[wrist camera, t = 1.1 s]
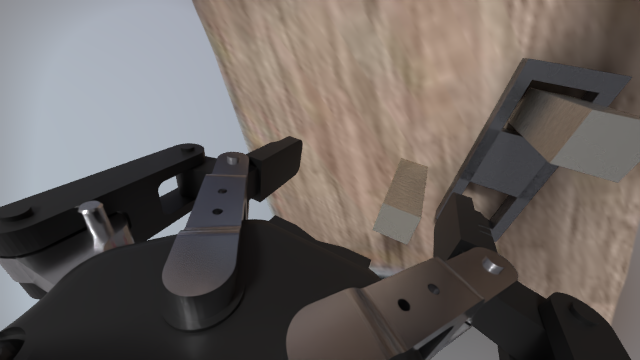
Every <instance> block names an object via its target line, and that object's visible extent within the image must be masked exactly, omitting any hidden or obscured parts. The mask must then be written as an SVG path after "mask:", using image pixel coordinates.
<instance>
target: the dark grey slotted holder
mask: <svg viewBox="0 0 640 360" xmlns="http://www.w3.org/2000/svg"><path fill="white" fill-rule="evenodd" d="M631 78H632V77H630V76H624V75H619V74H613V73H608V72H602V71H596V70H591V69H585V68H579V67H574V66H568V65H562V64H557V63H551V62H546V61H540V60H534V59H527V58H522V60H521V62H520V64H519V66H518V67H517V69H516V71H515V73H514V74H513V76H512V78H511V80H510V81H509V83H508V85H507V87H506V88H505V90H504V92H503V94H502V96H501V97H500V99H499V101H498V103H497V104H496V106H495V108H494V110H493V111H492V113H491V115H490V117H489V119H488V120H487V122H486V124H485V126H484V127H483V129H482V131H481V133H480V134H479V136H478V138H477V140H476V141H475V143H474V145H473V147H472V149H471V150H470V152H469V154H468V156H467V157H466V159H465V161H464V163H463V164H462V166H461V168H460V170H459V171H458V173H457V175H456V177H455V179H454V180H453V182H452V184H451V186H450V187H449V189H448V191H447V193H446V194H445V196H444V198H443V200H442V201H441V203H440V205H439V207H438V209H437V210H436V219H438V217H439V215H440V213H441V212H442V210H443V208H444V206H445V204H446V203H447V201H448V199H449V197H450V196H451V194H452V193H453V192H455V193H458V194H461V195H462V193H463V192H464V190H465V188H466V187H467V185H468V183H469V182H473V183H476V184H479V185H482V186H485V187H488V188H491V189H494V190H497V191H500V192H503V193H506V194H509V196H508V197H507V198H506V200H505V201H504V202H503V204H502V205H501V206H500V208H499V209H498V210H497V212H496V213H495V214H494V216H493V217H492V218H491V220H488V219H487V221H488V224H489V227H490V230H491V233H492V235H491V236H492V237H493V240H494V242H496V241H497V240H498V239H499V238H500V236H501V235H502V234H503V233H504V232H505V230H506V229H507V228H508V227H509V226H510V224H511V223H512V222H513V221H514V219H515V218H516V217H517V216H518V215H519V213H520V212H521V211H522V210H523V209H524V207H525V206H526V205H527V204H528V203H529V201H530V200H531V199H532V198H533V197H534V195H535V194H536V193H537V192H538V190H539V189H540V188H541V187H542V186H543V184H544V183H545V182H546V181H547V180H548V178H549V177H550V176H551V175H552V174H553V172H554V171H555V170H556V169H557V168H558V166H557V165H554V164H550V163H549V162H548V161H547V160H546V159H545V158H544V157H543V156H542V155H541V154H540V153H539V152H538V151H537V150H536V149H535V148H534V147H533V146H532V145H531V144H530V143H529V142H528V141H527V140H526V139H525V138H524V137H523V136H522V135H521V134H520V133H519V132H516V131H513V130H509V129H505V128H503V126H504V125H505V123H506V121H507V120H508V118H509V117H510V115H511V113H512V112H513V110H514V108H515V107H516V105H517V103H518V102H519V100H520V99H521V97H522V95H523V94H524V92H525V90H526V89H527V87H528V86H529V84H530V82H531V81H532V80H536V81H542V82H547V83H552V84H557V85H562V86H567V87H572V88H577V89H582V90H587V92H586V93H585V95H584V96H583V97H582V99H583V100H586V101H589V102H592V103H596V104H599V105H602V106H606V107H608V106H609V105H610V103H611V102H612V101H613V100H614V99H615V97H616V96H617V95H618V94H619V93H620V91H621V90H622V89H623V88H624V87H625V85H626V84H627V83H628V82H629V80H630V79H631Z"/></svg>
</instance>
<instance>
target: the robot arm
mask: <svg viewBox="0 0 640 360" xmlns="http://www.w3.org/2000/svg"><path fill="white" fill-rule="evenodd" d="M302 145H303V144H302V140H299V139H296V138H293V137H290V136H288V137H286V138H284V139H282V140H280V141H277V142H271V143H269V144H267V145H265V146H262V147H260V148H259V149H256V150H254V151H252V152H250V153H248V154H246V155H245V154H243V153H239V152H227V153H223V154H221V155H219V156H218V158H211V157H207V156H205V152H204V147H202V146H201V145H197V144H190V143H187V144H180V145H176V146H173V147H170V148H167V149H165V150H162V151H159V152H156V153H153V154H151V155H147V156H145V157H142V158H139V159H136V160H133V161H130V162H128V163H125V164H122V165H119V166H116V167H113V168H110V169H107V170H105V171H102V172H99V173H96V174H93V175H90V176H88V177H85V178H82V179H79V180H76V181H73V182H70V183H68V184H65V185H62V186H59V187H56V188H53V189H51V190H48V191H45V192H42V193H39V194H36V195H33V196H30V197H28V198H25V199H22V200H19V201H16V202H13V203H11V204H8V205H5V206H2V207H0V264H1V266H2V267H3V268H4V269H5V270H6V271H7V273H8V274H9V275H10V276H11V277H12V279H13V280H15V281H16V282H19V284H20V285H21V286H22V287H23V288H24V289H25V291H26V292H27V293H28V294H29V295H30V296H31V297H32V298H34V299H40V300H39V301H38V302H37V303H36V304H35V305H34V306H33V307H31V308H30V309H29V310H28V311H27V312H25V313H24V314H23V315H22V316H21V317H19V318H18V319H17V320H16V321H14V322H13V323H11V324H10V325H9V326H7V327H6V328H5V329H3V330H2V331H0V360H430V359H431V358H432V357H434V356H435V355H436V354H437V353H438V352H439V351H440V350H442V349H443V348H444V347H446V346H447V345H448V344H450V343H451V342H452V341H454V340H455V339H456V338H458V337H459V336H460V335H462V334H463V333H464V332H466V331H467V330H468V329H470V328H471V327H472V326H473V327H475V328H476V329H478V330H479V331H480V332H481V333H483V334H484V335H485V336H487V337H488V338H489V339H490V340H492V341H493V342H494V343H496V344H497V345H498V352H499V359H500V360H631V359H630V357H629V355H628V354H627V352H626V350H625V349H624V347H623V345H622V343H621V342H620V340H619V338H618V337H617V335H616V333H615V332H614V330H613V328H612V327H611V326H610V324H609V323H608V322H607V321H606V320H605V319H604V318H603V317H602V316H601V315H600V314H599V313H597V312H596V311H595V310H594V309H592V308H591V307H590V306H588V305H587V304H585V303H584V302H582V301H580V300H578V299H577V298H575V297H572V296H570V295H568V294H564V293H559V292H556V293H553V294H552V295H550V296H549V297H548V298H547V299H546V298H544V297H542V296H541V295H539V294H537V293H536V292H534V291H532V290H531V289H529V288H527V287H526V286H524V285H523V284H521V283H520V282H518V281H517V280H518V273H517V271H516V269H515V268H514V266H513V265H512V264H511V263H510V262H509V261H508V260H507V259H505V258H504V257H503V256H501V255H500V254H498V253H497V250H496V246H495V243H494V240H493V237H492V236H491V235H492V233H491V230H490V227H489V224H488V221H487V219H486V218H485V217H484V216H483V215H482V214H481V212H478V211H475V209H474V205H473V201H472V198H470V197H467V196H464V195H461V194H458V193H455V192H453V193H452V194H451V196H450V197H449V199H448V201H447V203H446V204H445V206H444V208H443V210H442V212H441V213H440V215H439V217H438V219H437V221H436V224H435V228H434V253H433V258H431V259H429V260H427V261H424V262H422V263H420V264H417V265H415V266H413V267H411V268H408V269H406V270H404V271H401V272H399V273H397V274H394V275H392V276H390V277H388V278H385V279H383V280H381V279H380V278H379V277H378V276H377V275H376V274H375V273H374V272H373V271H372V270H370V269H369V268H368V267H369V265H370V262H371V259H368V258H366V257H364V256H362V255H360V254H358V253H355V252H353V251H351V250H349V249H347V248H344V247H340V246H336V245H332V244H328V243H324V242H320V241H317V240H315V239H314V238H313V237H311V236H310V235H309V234H307V233H306V232H305V231H303V230H302V229H301V228H299V227H298V226H297V225H295V224H293V223H291V222H288V221H286V220H284V219H282V218H280V217H278V216H276V215H275V216H274V217H273V218H272V219H271V220H269V221H266V220H257V219H254V220H253V219H252V220H248V212H249V200H250V199H251V198H252V199H254V200H256V201H259V202H261V201H263V200H264V199H265V198H266V197H268V196H269V195H270V194H272V193H273V192H274V191H275V190H277V189H278V188H279V187H281V186H282V185H283V184H284V183H286V182H287V181H288V180H289V179H291V178H292V177H293V176H295V175H296V173H297V172H298V170H299V167H300V160H301V153H302ZM174 176H176V179H177V184H178V188H176V189H175V190H173V191H171V192H169V193H167V194H165V195H163V196H161V197H159V194H158V188H159V186H160V184H161V183H162V182H163V181H165V180H168V179H170V178H172V177H174ZM190 211H191V214H190V217H189V219H188V222H187V224H186V227H185V229H184V230H181V231H180V232H179V233H178V234H176V235H171V236H166V237H162V238H157V239H152V240H148V239H150V238H151V237H152V236H154V235H155V234H157V233H159V232H160V231H162V230H163V229H165V228H166V227H168V226H169V225H171V224H172V223H174V222H175V221H177V220H178V219H180V218H181V217H183V216H184V215H186V214H187V213H189V212H190ZM146 240H148V241H146Z"/></svg>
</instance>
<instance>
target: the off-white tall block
mask: <svg viewBox="0 0 640 360" xmlns="http://www.w3.org/2000/svg"><path fill="white" fill-rule="evenodd" d="M427 171H428V167H427V166H424V165H421V164H417V163H414V162H411V161H408V160H405V159H402V158H401V161H400V163H399V165H398V168H397V170H396V173H395V175H394V178H393V180H392V182H391V185H390V187H389V190H388V192H387V195H386V197H385V200H384V202H383V204H382V207H381V210H380V212H379V215H378V217H377V220H376V222H375V225H374V227H373V230H374V231H376V232H379V233H381V234H383V235H385V236H388V237H390V238H392V239H395V240H397V241H399V242H401V243H404V244H406V245H407V244H408V242H409V240H410V238H411V236H412V234H413V232H414V231H415V229H416V227H417V225H418V223H419V221H420V219H421V215H422V208H423V200H424V193H425V186H426V178H427Z"/></svg>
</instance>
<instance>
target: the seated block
mask: <svg viewBox="0 0 640 360" xmlns="http://www.w3.org/2000/svg"><path fill="white" fill-rule="evenodd" d="M508 122H509V123H510V124H511V125H512V126H513V127H514V128H515V129H516V130H517V131H518V132H519V133H520V134H521V135H522V136H523V137H524V138H525V139H526V140H527V141H528V142H529V143H530V144H531V145H532V146H533V147H534V148H535V149H536V150H537V151H538V152H539V153H540V154H541V155H542V156H543V157H544V158H545V159H546V160H547V161H548V162H549V163H550V164H554V165H557V166H561V167H564V168H568V169H571V170H575V171H579V172H582V173H586V174H589V175H593V176H596V177H600V178H603V179H607V180H610V181H614V182H617V183H618V182H619V181H620V180H621V179H622V178H623V177H624V176H625V175H626V174H627V173H628V172H629V171H630V170H631V169H632V168H633V167H634V166H636V165H637V164H638V163H639V162H640V117H638V116H635V115H632V114H628V113H625V112H622V111H619V110H615V109H612V108H609V107H606V106H602V105H599V104H596V103H592V102H589V101H586V100H583V99H579V98H576V97H573V96H568V95H563V94H558V93H554V92H549V91H544V90H539V89H534V88H530V87H529V89H528V91H527V92H526V94H525V95H524V97H523V99H522V100H521V102H520V104H519V105H518V107H517V108H516V110H515V112H514V113H513V115H512V117H511V118H510V120H509V121H508Z"/></svg>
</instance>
